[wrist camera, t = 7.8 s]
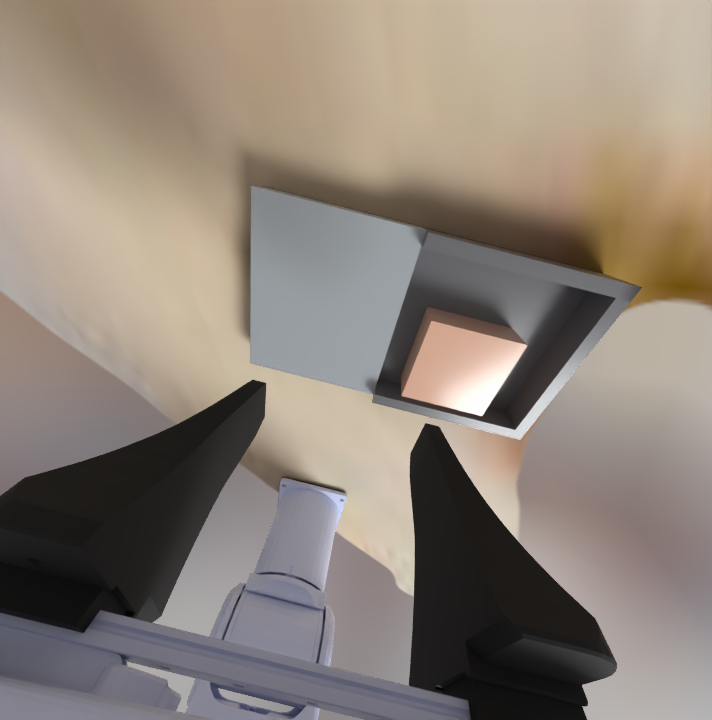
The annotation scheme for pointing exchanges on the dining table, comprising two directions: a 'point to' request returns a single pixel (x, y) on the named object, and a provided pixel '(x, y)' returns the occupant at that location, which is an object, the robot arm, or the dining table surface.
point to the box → (505, 323)
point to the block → (459, 361)
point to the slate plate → (326, 287)
